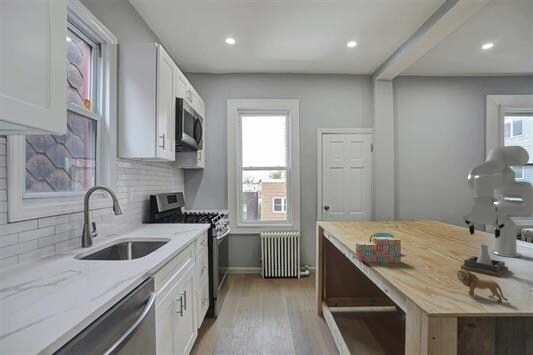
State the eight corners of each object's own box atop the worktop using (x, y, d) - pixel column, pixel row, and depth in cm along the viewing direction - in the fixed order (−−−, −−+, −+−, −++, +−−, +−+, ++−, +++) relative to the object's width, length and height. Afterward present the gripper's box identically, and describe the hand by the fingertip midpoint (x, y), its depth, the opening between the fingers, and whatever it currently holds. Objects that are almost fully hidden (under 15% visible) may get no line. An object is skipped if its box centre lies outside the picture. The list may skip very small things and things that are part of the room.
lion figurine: (457, 294, 103) (456, 270, 103) (457, 289, 107) (457, 266, 108) (508, 304, 95) (508, 278, 95) (506, 299, 99) (506, 274, 99)
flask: (491, 265, 134) (491, 244, 134) (496, 269, 127) (496, 247, 127) (473, 263, 137) (473, 243, 137) (477, 267, 131) (476, 246, 131)
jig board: (473, 263, 142) (472, 255, 143) (508, 270, 131) (507, 261, 131) (460, 268, 133) (460, 260, 133) (497, 276, 122) (497, 267, 122)
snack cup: (367, 250, 168) (367, 233, 168) (373, 247, 176) (373, 231, 176) (394, 255, 158) (394, 237, 158) (399, 251, 166) (399, 234, 166)
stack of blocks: (359, 262, 144) (359, 238, 144) (355, 258, 150) (355, 236, 150) (400, 263, 143) (400, 239, 143) (396, 259, 149) (395, 236, 149)
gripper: (509, 201, 128) (509, 237, 128) (465, 199, 142) (466, 232, 142) (504, 202, 123) (505, 240, 123) (460, 200, 137) (460, 234, 137)
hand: (484, 235), depth 133 cm, fingers open, 9 cm apart
